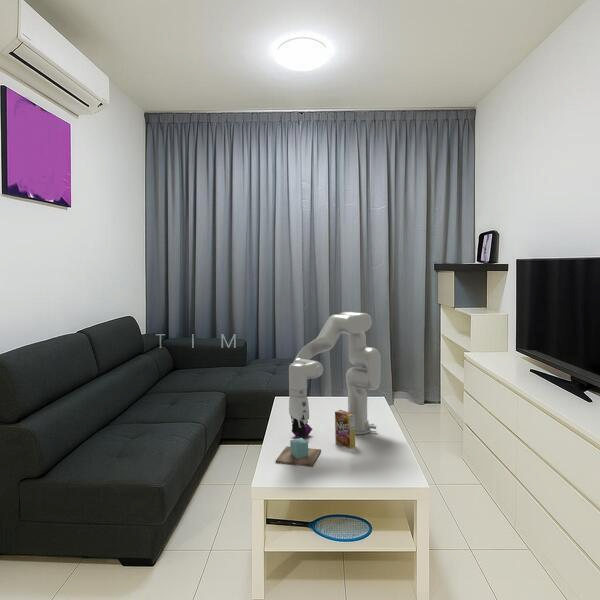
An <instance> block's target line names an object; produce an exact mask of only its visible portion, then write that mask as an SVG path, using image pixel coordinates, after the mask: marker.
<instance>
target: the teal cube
mask: <svg viewBox="0 0 600 600" xmlns="http://www.w3.org/2000/svg"><path fill="white" fill-rule="evenodd" d="M289 447H290V454H291V455H293V456H294V457H295V458H301V457H305V456H308V448H309V442H308V441H307V440H306V439H305V438H299V437H298V438H296V439H294V438H293V439H290V442H289Z"/></svg>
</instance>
